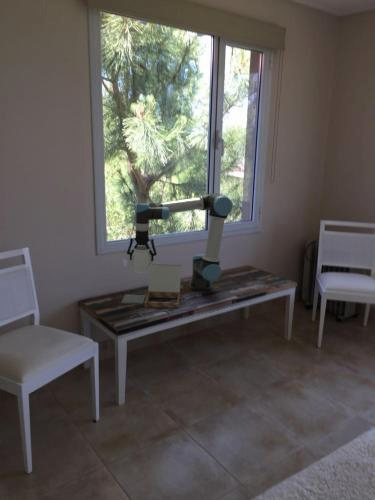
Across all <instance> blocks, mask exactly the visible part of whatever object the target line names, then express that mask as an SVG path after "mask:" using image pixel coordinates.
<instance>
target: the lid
mask: <svg viewBox="0 0 375 500" xmlns="http://www.w3.org/2000/svg"><path fill="white" fill-rule="evenodd" d="M181 271H182V265H181V264H162V263H161V264H159V263H152V266H151V267H150V265H149V268H148V292H163V293H180V292H181V277H182V276H181V275H182V272H181Z"/></svg>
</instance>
